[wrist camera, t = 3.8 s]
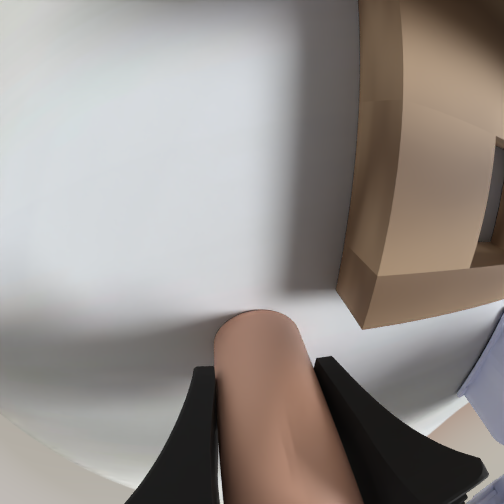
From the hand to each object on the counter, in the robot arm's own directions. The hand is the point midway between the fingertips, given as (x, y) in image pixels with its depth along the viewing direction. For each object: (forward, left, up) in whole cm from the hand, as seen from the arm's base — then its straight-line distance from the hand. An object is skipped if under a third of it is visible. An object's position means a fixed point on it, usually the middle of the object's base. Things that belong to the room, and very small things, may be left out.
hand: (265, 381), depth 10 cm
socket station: (+10, -10, -2) cm, 14 cm away
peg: (0, 0, -2) cm, 2 cm away
